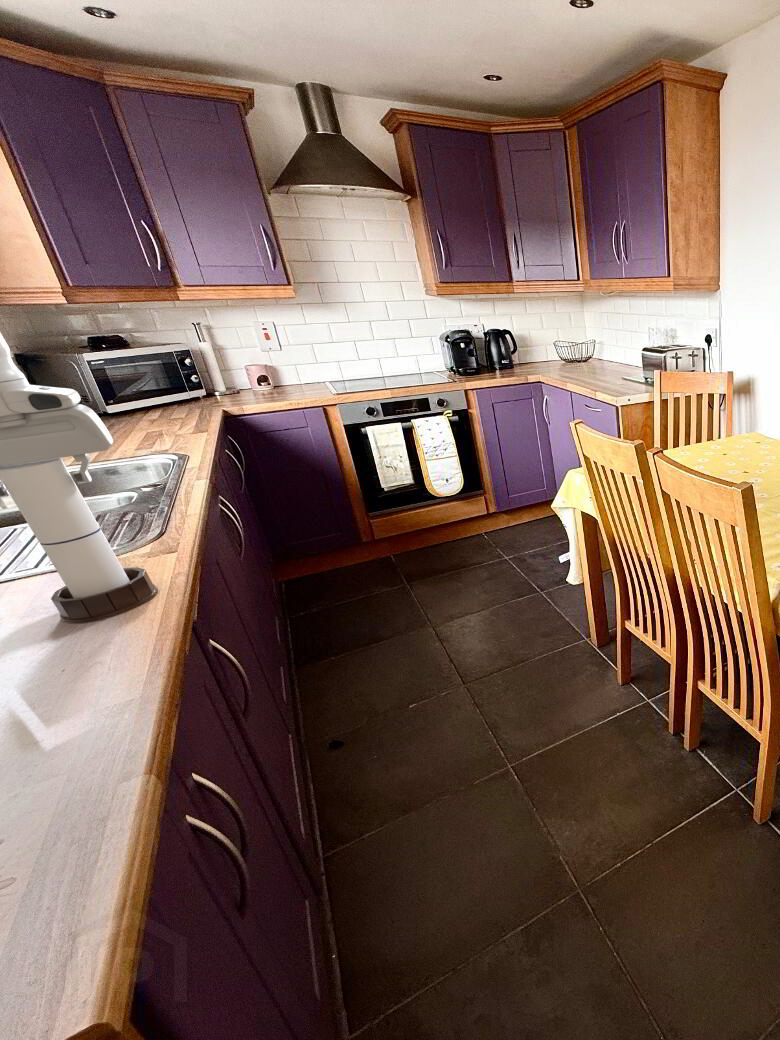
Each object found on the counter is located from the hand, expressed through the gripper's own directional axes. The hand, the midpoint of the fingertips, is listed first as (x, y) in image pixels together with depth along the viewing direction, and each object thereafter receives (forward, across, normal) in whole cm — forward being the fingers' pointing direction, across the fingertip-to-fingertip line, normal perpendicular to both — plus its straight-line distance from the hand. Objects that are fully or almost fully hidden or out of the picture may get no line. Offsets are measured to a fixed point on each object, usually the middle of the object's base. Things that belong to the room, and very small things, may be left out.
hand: (44, 489), depth 93 cm
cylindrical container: (+21, 0, 0) cm, 21 cm away
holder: (+21, 0, 0) cm, 21 cm away
